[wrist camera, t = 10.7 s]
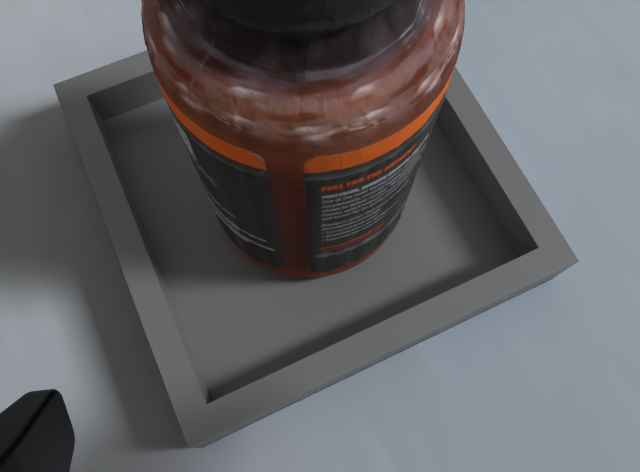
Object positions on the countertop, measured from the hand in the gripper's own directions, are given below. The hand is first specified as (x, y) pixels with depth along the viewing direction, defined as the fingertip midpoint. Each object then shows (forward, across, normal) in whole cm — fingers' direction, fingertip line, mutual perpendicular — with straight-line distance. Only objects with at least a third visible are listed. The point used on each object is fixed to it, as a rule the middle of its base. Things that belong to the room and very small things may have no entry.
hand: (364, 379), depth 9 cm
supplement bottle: (+10, 0, +1) cm, 11 cm away
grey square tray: (+11, 0, +1) cm, 11 cm away
